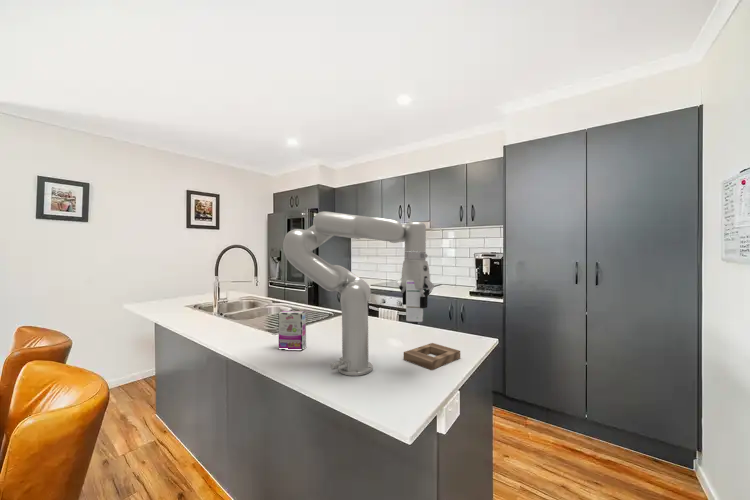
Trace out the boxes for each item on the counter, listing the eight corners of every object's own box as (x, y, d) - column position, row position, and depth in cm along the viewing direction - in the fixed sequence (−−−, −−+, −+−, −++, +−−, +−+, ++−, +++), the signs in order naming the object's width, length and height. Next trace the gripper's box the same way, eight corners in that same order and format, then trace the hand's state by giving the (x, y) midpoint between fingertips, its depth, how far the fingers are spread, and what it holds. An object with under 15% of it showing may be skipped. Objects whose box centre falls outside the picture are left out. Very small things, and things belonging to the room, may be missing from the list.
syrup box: (422, 322, 103) (423, 280, 103) (405, 321, 104) (405, 279, 104) (423, 318, 108) (423, 278, 108) (406, 317, 110) (407, 278, 110)
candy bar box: (306, 347, 133) (306, 311, 133) (302, 351, 128) (301, 313, 129) (283, 346, 135) (283, 310, 135) (277, 350, 130) (277, 312, 130)
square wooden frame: (431, 370, 107) (431, 361, 107) (403, 359, 118) (403, 352, 118) (460, 358, 119) (460, 350, 119) (432, 349, 129) (432, 342, 129)
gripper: (441, 257, 102) (441, 308, 102) (404, 256, 115) (404, 301, 115) (427, 257, 97) (426, 311, 97) (390, 256, 110) (390, 303, 110)
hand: (414, 305), depth 106 cm, fingers closed on syrup box, 7 cm apart
